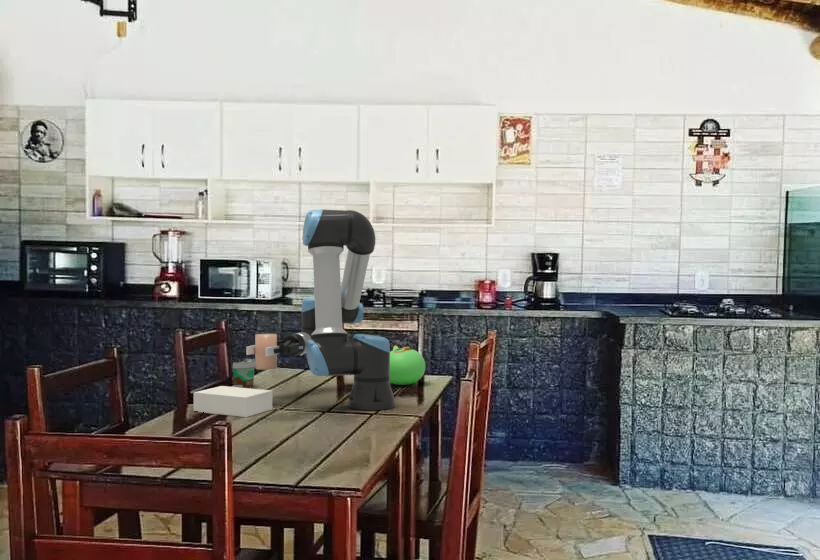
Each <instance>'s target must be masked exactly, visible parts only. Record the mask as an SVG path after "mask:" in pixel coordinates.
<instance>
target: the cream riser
mask: <svg viewBox="0 0 820 560" xmlns="http://www.w3.org/2000/svg"><path fill="white" fill-rule="evenodd" d="M270 410H271V411H272V410H273V390H270V389H259V388H239V387H234V386H227V385H219V386H215V387H211V388H207V389H202V390H199V391H194V392H193V412H194V411H198V412H197V413H203V412H204V414H214V415H223V416H232V417H240V418H247V417H251V416H255V415H258V414H261V413H264V412H268V411H270Z"/></svg>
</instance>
